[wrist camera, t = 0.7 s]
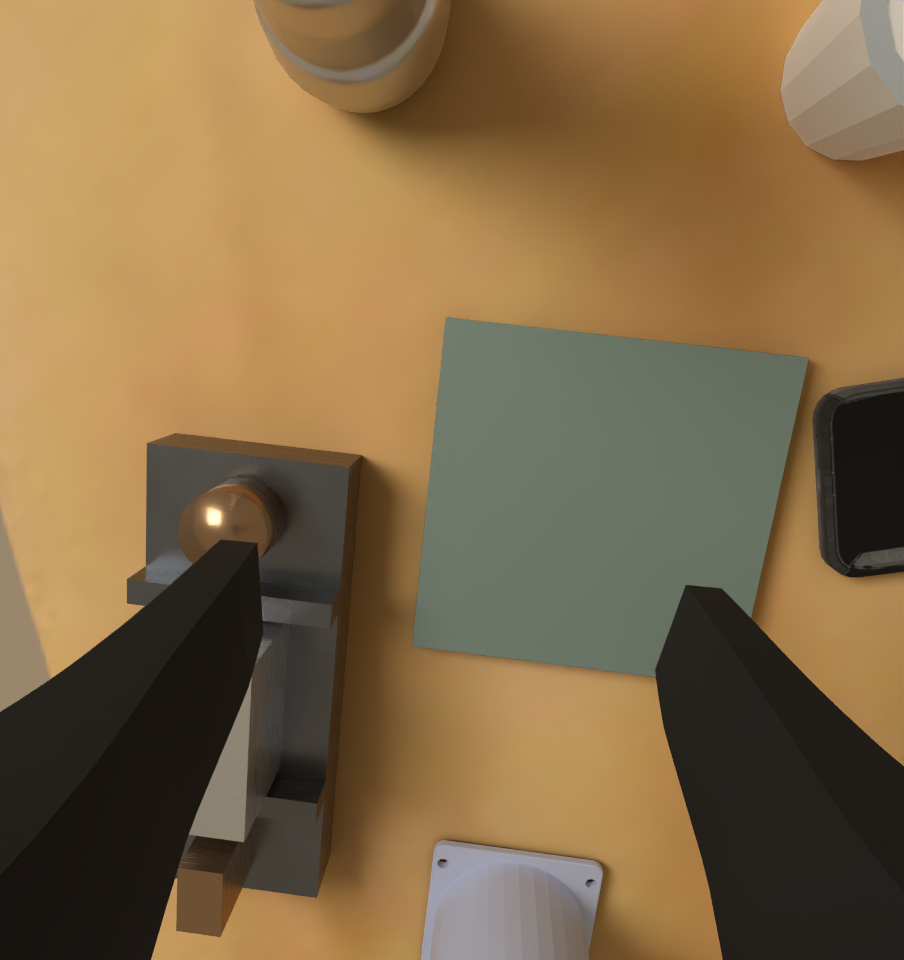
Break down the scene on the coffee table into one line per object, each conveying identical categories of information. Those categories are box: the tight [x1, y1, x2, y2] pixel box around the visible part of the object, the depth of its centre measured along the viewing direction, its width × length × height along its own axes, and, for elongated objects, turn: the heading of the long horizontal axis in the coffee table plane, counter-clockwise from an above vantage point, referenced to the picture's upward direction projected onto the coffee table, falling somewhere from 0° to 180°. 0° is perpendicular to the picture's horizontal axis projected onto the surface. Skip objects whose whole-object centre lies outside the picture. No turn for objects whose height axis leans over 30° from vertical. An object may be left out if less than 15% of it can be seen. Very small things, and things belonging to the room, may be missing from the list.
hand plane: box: [127, 433, 362, 937], centre depth 29 cm, size 20×8×6 cm, turn 174°
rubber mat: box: [412, 318, 809, 677], centre depth 29 cm, size 14×14×1 cm
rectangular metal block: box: [189, 621, 289, 842], centre depth 27 cm, size 7×4×4 cm, turn 174°
